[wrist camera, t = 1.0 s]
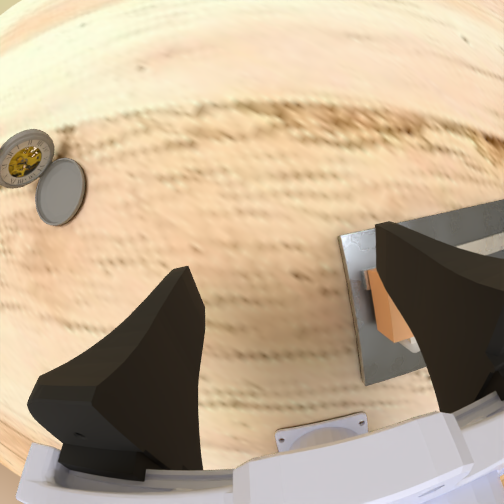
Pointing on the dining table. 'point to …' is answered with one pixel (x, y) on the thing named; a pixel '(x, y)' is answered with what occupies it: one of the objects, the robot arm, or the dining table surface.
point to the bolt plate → (364, 258)
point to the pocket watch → (43, 175)
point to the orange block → (390, 315)
